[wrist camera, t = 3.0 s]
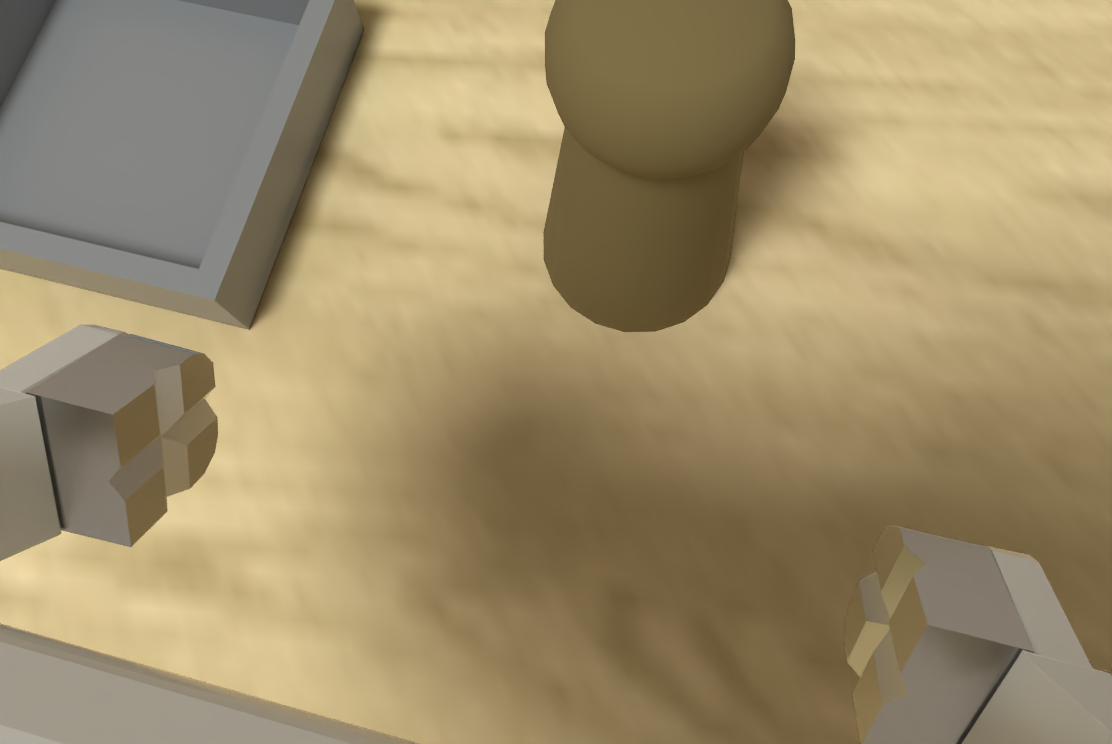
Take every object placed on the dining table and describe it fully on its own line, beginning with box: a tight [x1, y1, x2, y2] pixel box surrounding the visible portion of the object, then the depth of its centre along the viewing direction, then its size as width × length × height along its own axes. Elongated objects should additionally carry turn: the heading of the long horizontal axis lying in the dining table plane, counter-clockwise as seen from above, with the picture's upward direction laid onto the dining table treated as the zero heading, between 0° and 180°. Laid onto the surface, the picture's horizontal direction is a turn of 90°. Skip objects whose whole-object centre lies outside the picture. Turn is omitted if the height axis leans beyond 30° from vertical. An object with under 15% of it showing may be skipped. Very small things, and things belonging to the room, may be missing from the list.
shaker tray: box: [0, 0, 364, 329], centre depth 26 cm, size 12×12×2 cm
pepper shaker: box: [544, 0, 795, 332], centre depth 20 cm, size 6×6×11 cm
